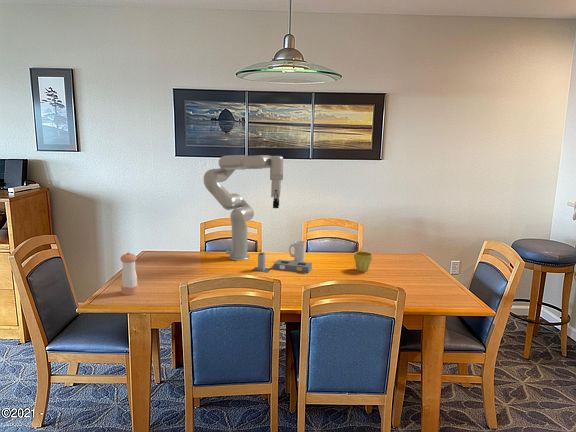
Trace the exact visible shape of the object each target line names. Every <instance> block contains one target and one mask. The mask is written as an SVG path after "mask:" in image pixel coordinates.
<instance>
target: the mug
mask: <svg viewBox="0 0 576 432" xmlns="http://www.w3.org/2000/svg"><path fill="white" fill-rule="evenodd" d="M293 247H294V248H293ZM292 248H293V249H294V253H293V254H292V252H291V251H292V250H291V249H292ZM288 253H289V255H290V257H291V258H294V259H293V261H298V262H306V261H305V259H306V258H305V257H306V241H304V240H303V241H302V240H296V241H294V244H293V243H290V245H289V247H288Z"/></svg>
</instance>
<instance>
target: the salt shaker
mask: <svg viewBox="0 0 576 432" xmlns="http://www.w3.org/2000/svg"><path fill="white" fill-rule="evenodd" d="M136 261H137V256H136V254H134V253H131V252H126V253H124V254H122V255H121V256H120V262H122V264H121V265H122V272H121V273H122V274H121V286H120V289H121V291H120V292H121V295H123V296H132V295H136V294H138V293H139V284H138V275H137V272H136Z"/></svg>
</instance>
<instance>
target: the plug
mask: <svg viewBox="0 0 576 432" xmlns="http://www.w3.org/2000/svg"><path fill="white" fill-rule="evenodd" d="M257 267H258V270H260V271H264V270H265V268H266V253H265V252H262V251H261V252H259V253H258V254H257Z"/></svg>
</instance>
